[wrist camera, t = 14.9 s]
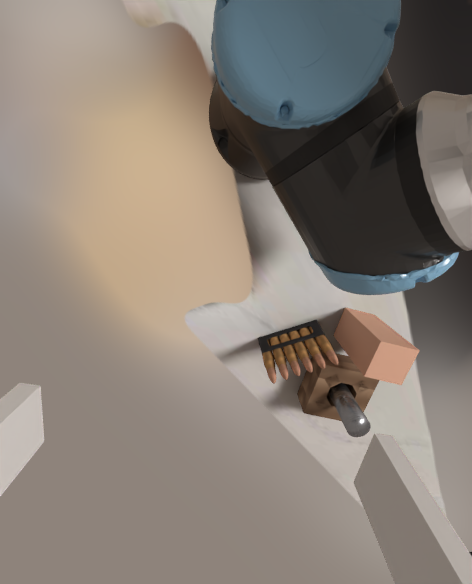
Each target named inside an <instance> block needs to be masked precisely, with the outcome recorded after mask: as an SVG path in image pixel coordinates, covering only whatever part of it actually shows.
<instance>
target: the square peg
mask: <svg viewBox="0 0 472 584" xmlns="http://www.w3.org/2000/svg"><path fill="white" fill-rule="evenodd" d="M333 336H334V337H335V338H336V340H337V341H338V342H339V344H340V345H341V346H342V348H343V349H344V350H345V352H346V353H347V354H348V356H349V357H350V358H351V360H352V361H353V362H354V364H355V365H356V366H357V368H358V369H359V370H360V372H361V373H362V374H363V375H364V377H369V378H373V379H377V380H382V381H386V382H390V383H395V384H399V385H402V383H403V381H404V379H405V377H406V375H407V373H408V372H409V370H410V368H411V366H412V364H413V362H414V360H415V358H416V356H417V354H418V353H419V350H418V349H417V348H415V347H414V346H413V345H412V344H411V343H409V342H408V341H407V340H406V339H404V338H403V337H402V336H401V335H399V334H398V333H397V332H396V331H394V330H393V329H392V328H390V327H389V326H388V325H387V324H385V323H384V322H383V321H382V320H380V319H379V318H378V317H377V316H375V315H373V314H369V313H365V312H361V311H357V310H353V309H349V308H345V309H344V311H343V314H342V316H341V318H340V321H339V323H338V326H337V328H336V331H335V333H334V335H333Z"/></svg>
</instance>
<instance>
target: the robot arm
mask: <svg viewBox="0 0 472 584" xmlns="http://www.w3.org/2000/svg"><path fill="white" fill-rule="evenodd" d="M400 8H401V0H217V1H216V6H215V12H214V23H213V33H212V45H211V50H212V60H213V62H214V71H215V73H216V77H217V81H216V83H215V85H214V88H213V91H212V95H211V99H210V106H209V122H210V129H211V132H212V136H213V140H214V142H215V145H216V147H217V149H218V151H219V153H220V154H221V156H222V157H223V159H224V160H225V161H226V162H227V163H228V164H229V165H230V166H231V167H232V168H233V169H235V170H236V171H238V172H239V173H241V174H243V175H246V176H249V177H252V178H257V179H269V181H270V183H271V184H272V187H273V189H274V191H275V192H276V194H277V196H278V198H279V199H280V201H281V203H282V205H283V206H284V208H285V210H286V212H287V213H288V215H289V217H290V218H291V220H292V222H293V224H294V225H295V227H296V229H297V231H298V232H299V234H300V236H301V238H302V239H303V241H304V243H305V245H306V246H307V248H308V251H309V254H310V256H311V258H312V260H314V262H315V263H316V264H317V265H318V266H319V267H320V268H321V270H322V271H323V273H324V275H325V276H326V278H327V279H328V280H329V281H330V282H331V283H332V284H333V285H334V286H336V287H337V288H339V289H341V290H343V291H346V292H350V293H354V294H361V295H382V294H390V293H396V292H400V291H404V290H408V289H411V288H414V287H415V283H416V282H429V281H431V280H433V279H435V278H437V277H438V276H440V275H442V274H443V273H444V272H446V271H447V270H448V269H449V268H450V267H451V266H452V265H453V264H454V262H455V260H456V259H457V257H458V253H459V252H462V251H467V250H472V94H471V95H465V96H460V95H455V94H450V93H444V92H438V91H433V92H430V93H428V94H426V95H424V96H423V97H421V98H420V99H418V100H416V101H415V102H413V103H412V104H410V105H408V106H407V107H405V108H403V106H402V104H401V102H400V101H399V97H398V95H397V92H396V90H395V88H394V85H393V83H392V80H391V78H390V75H389V73H388V70H387V68H386V66H387V64H388V62H389V59H390V56H391V53H392V50H393V47H394V37H395V32H396V30H397V28H398V26H399V22H400V11H401V9H400ZM43 442H44V431H43V417H42V402H41V386H39V385H32V384H25V383H19V384H18V385H17V386H15V387H14V388H13V389H12V390H10V391H9V392H8V393H7V394H6V395H5V396H3V397H2V398H1V399H0V496H1V495H2V494H3V492H4V491H5V490H6V489H7V487H8V486H9V485H10V484H11V482H12V481H13V480H14V479H15V477H16V476H17V475H18V474H19V472H20V471H21V470H22V469H23V467H24V466H25V465H26V463H27V462H28V461H29V459H30V458H31V457H32V456H33V455H34V453H35V452H36V451H37V450H38V448H39V447H40V446H41V445H42V443H43ZM354 484H355V487H356V489H357V492H358V494H359V497H360V499H361V502H362V504H363V506H364V509H365V511H366V514H367V516H368V519H369V521H370V524H371V526H372V528H373V531H374V533H375V536H376V538H377V541H378V543H379V545H380V548H381V550H382V553H383V555H384V558H385V560H386V563H387V565H388V568H389V570H390V572H391V575H392V577H393V580H394V582H395V584H472V552H469V551H468V550H467V548H466V547H465V545H464V544H463V542H462V541H461V539H460V538H459V536H458V535H457V533H456V531H455V530H454V528H453V527H452V525H451V524H450V522H449V521H448V519H447V518H446V516H445V515H444V513H443V512H442V510H441V509H440V507H439V505H438V504H437V502H436V501H435V499H434V498H433V496H432V495H431V493H430V492H429V490H428V489H427V487H426V486H425V484H424V483H423V481H422V480H421V478H420V476H419V475H418V473H417V472H416V470H415V469H414V467H413V466H412V464H411V463H410V461H409V460H408V458H407V457H406V455H405V454H404V452H403V451H402V449H401V447H400V446H399V444H398V443H397V441H396V440H395V438H394V437H393V436H391V435H384V434H377V433H374V436H373V438H372V440H371V443H370V445H369V447H368V450H367V452H366V454H365V457H364V459H363V461H362V464H361V466H360V468H359V471H358V473H357V475H356V478H355V480H354Z"/></svg>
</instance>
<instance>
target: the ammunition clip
mask: <svg viewBox="0 0 472 584" xmlns="http://www.w3.org/2000/svg"><path fill="white" fill-rule="evenodd" d="M314 339H315V340H316V341H315V340H314ZM258 341H259V344H260V347H261V351H262V355H263V360H264V365H265V368H266V370H267V373H268V376H269V379H270V380H271V382H272V383H275V382H276V370H275V362H276V364H277V366H278V368H279V371H280V373H281V375H282V377H283V378H284V379H285V380H287V379H288V369H287V365H286V359H287V361H288V362H289V364H290V366H291V368H292V370H293V372H294V373H295V374H296V375H297V376H300V366H299V363H298V358H297V355H298V357H299V359H300V360H301V361H302V363H303V365H304V367H305V368H306V369H307V370H308V371H309V372H310V373H312V371H313V367H312V363H311V360H310V358H309V353H310V354H311V355H312V356H313V358H314V359H315V361H316V363H317V364H318V365H319V366H320V367H321V368H323V369H325V361H324V358H323V356H322V354H321V351H320V348H321V350H322V351H323V352H324V353H325V354H326V356H327V357H328V359H329V360H330V361H331V362H332V363H334V364H335V365H338V358H337V356H336V354H335V352H334V350H333V348H332V345H331V344H330V342H329V341H328V339H327V338H326V336H325V334H324V332H323V330H322V329H321V327H320V325H319V323H318V322H317V320H314V321H311V322H308V323H305V324H301V325H298V326H295V327H292V328H289V329H285V330H282V331H279V332H276V333H272V334H269V335H266V336H263V337H259V338H258ZM303 341H304V343H305V345H306V346H305V345H304V343H303ZM292 344H293V345H292ZM293 346H294V347H293ZM318 346H319V347H320V348H319V347H318ZM282 347H283V349H282ZM294 348H295V349H294ZM307 349H308V351H309V353H308V351H307ZM283 350H284V352H283ZM272 351H273V353H272ZM296 353H297V355H296ZM285 356H286V358H285ZM274 359H275V361H274Z"/></svg>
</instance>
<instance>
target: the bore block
mask: <svg viewBox="0 0 472 584" xmlns="http://www.w3.org/2000/svg"><path fill="white" fill-rule="evenodd" d="M320 351H321V354H322V356H323V358H324V361H325V369H323V368H321V367H320V366H319V365H318V364H317V363H316V361H315V359H314V358H313V356H312V358H311V363H312V367H313V371H312V373H310V372H309V371H308V370H307V371H306V373H305V376H304V378H303V381H302V383H301V386H300V388H299V391H298V393H297V394H298V397H299V400H300V403H301V406H302V409H303V412H304V413H306V414H311V415H316V416H320V417H325V418H330V419H335V420H339V421H342V420H341V418H340V416H339V414H338V412H337V410H336V408H335V406H334V404H333V402H332V400H331V398H330V396H329V394H328V392H329V389H330V388H331V387H333V386H335V385H337V384H339V383H345V384H346V386H347V387H348V389H349V390H350V392H351V394H352V395H353V397H354V399H355V400H356V402H357V403H358V405H359V407H360V408H361V410H362V412H364V410H365V408H366V406H367V404H368V402H369V400H370V398H371V396H372V394H373V392H374V390H375V388H376V386H377V384H378V382H379V380H377V379H373V378H369V377H364V375H363V374H362V373H361V372H360V370H359V369H358V368H357V366H356V365H355V364H354V362H353V361H352V360H351V358H350V357H349V356H344V355H340V354H336V353H335V354H336V356H337V358H338V365H335V364H334V363H332V362H331V361H330V360H329V359H328V357H327V356H326V354H325V353H324V352H323V351H322V350H320Z"/></svg>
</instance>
